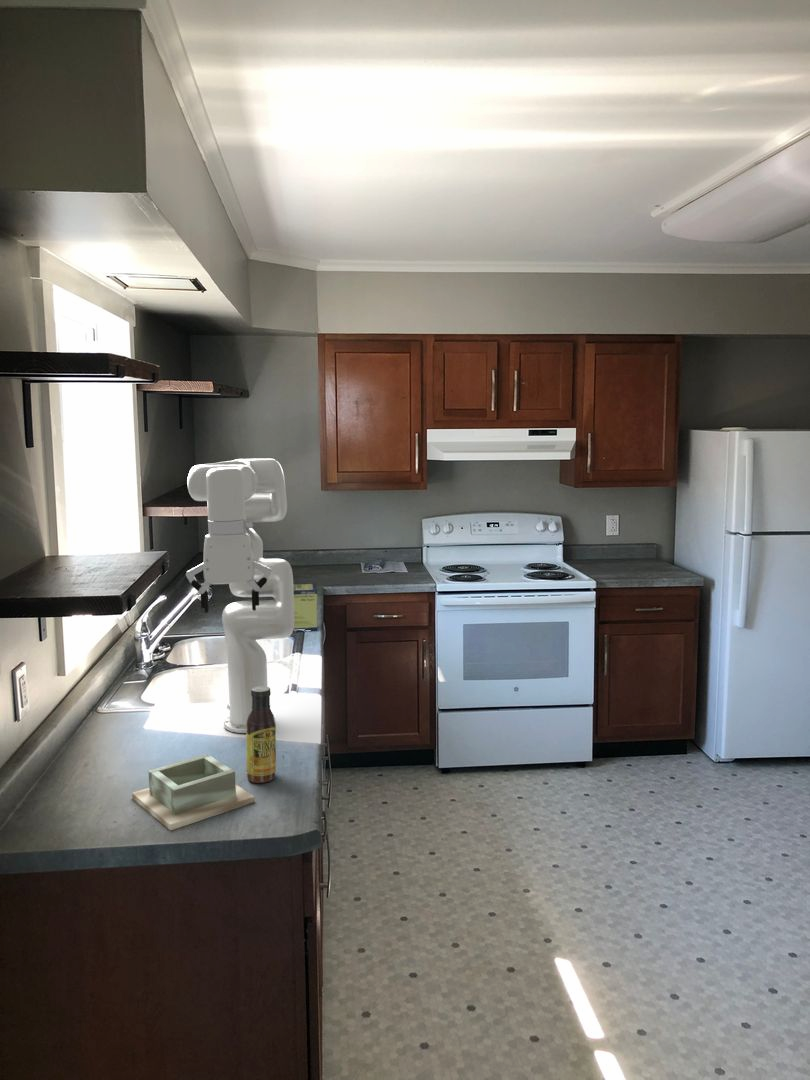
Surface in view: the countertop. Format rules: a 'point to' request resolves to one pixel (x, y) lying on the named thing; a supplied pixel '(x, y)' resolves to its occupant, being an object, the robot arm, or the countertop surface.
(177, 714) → the countertop surface
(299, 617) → the protein box
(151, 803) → the tray
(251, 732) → the sauce bottle
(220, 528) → the robot arm
